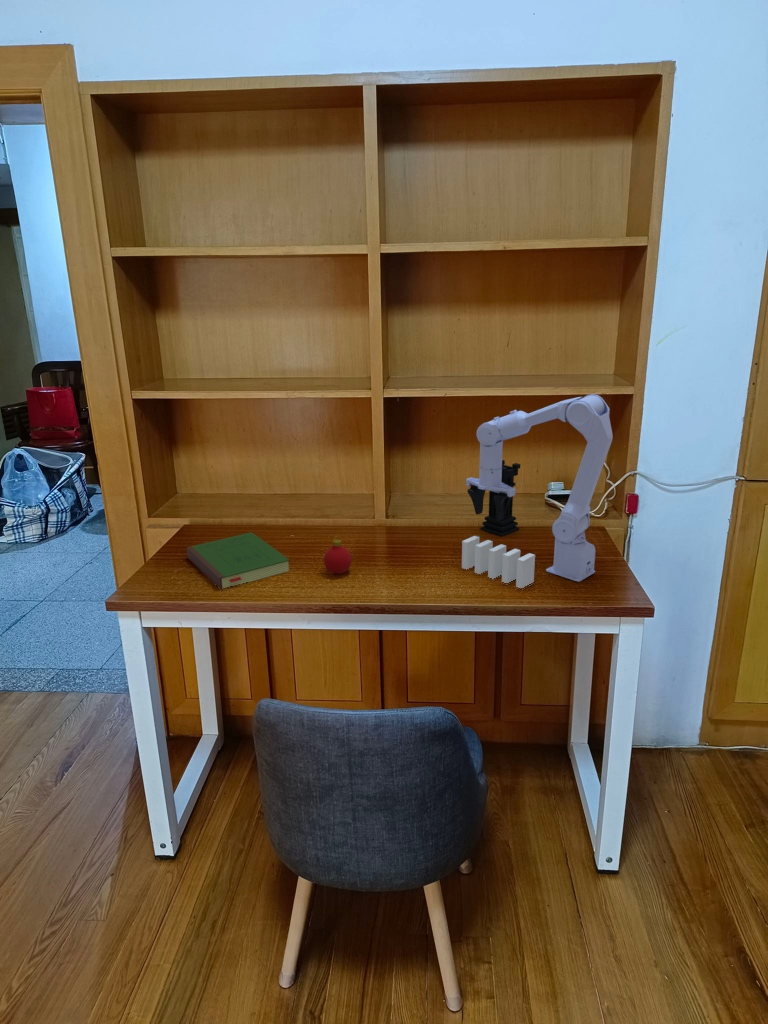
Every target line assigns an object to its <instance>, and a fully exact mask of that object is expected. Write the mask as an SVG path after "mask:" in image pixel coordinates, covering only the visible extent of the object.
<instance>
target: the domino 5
mask: <svg viewBox="0 0 768 1024" xmlns="http://www.w3.org/2000/svg"><path fill="white" fill-rule="evenodd" d="M535 559H536V554H533V553H530V552H529V553H527V554H525V555H523V556H520V558H519V559H517V577H516V580H515V588H516V587H518V588H524V587H525V586H527V585H529V584H531V583H533V582H534V581H535V580H534V579H535V567H536V565H535V562H536V560H535ZM533 584H534V583H533ZM531 585H532V584H531ZM529 586H530V585H529ZM518 588H517V589H518ZM524 589H525V588H524Z"/></svg>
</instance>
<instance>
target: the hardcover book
mask: <svg viewBox="0 0 768 1024" xmlns="http://www.w3.org/2000/svg"><path fill="white" fill-rule="evenodd" d="M186 551H187V559H188V560H189V561H190V562H191V563H193V565H194V566H195V567H196V568H197V569H199V570H200V572H202V573H203V575H204V576H205V577H207V578H208V579H209V580H210V581H211V582H212V583H213V584H214V585H215V584H216V585H217V586H218V587H219V588H220V589H223V588H225V587H229V588H231V587H230V586H233V587H235V586H234V585H237V586H239V585H238V584H240V585H244V584H247V583H246V582H248V583H251V582H254V581H258V580H261V579H265V578H269V577H272V576H276V575H280V574H284V573H287V572H290V566H289V561H290V559H289V558H288V557H287V556H285V555H284V554H282V553H281V552H279V551H278V550H277V549H275V548H274V547H273V546H272V545H270V544H268V543H267V542H266V541H264V540H263V539H261V537H259V536H257V535H256V534H255V533H253V532H246V533H242V534H238V535H234V536H229V537H226V538H221V539H217V540H212V541H207V542H203V543H199V544H196V545H191V546H187V547H186ZM243 583H244V584H243ZM216 585H215V586H216ZM217 586H216V587H217ZM218 587H217V588H218ZM219 588H218V589H219ZM220 589H219V590H220ZM223 590H224V589H223Z"/></svg>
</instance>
